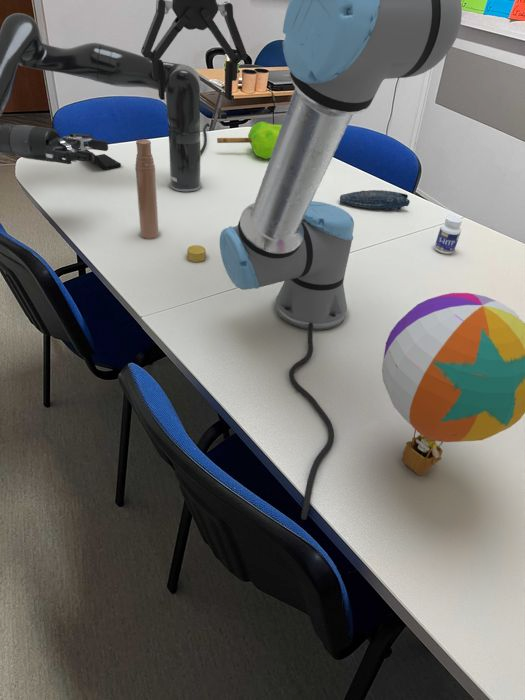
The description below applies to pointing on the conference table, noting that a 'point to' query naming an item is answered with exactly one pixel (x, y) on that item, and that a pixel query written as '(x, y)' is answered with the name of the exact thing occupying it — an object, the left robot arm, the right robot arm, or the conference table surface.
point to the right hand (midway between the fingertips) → (195, 98)
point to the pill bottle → (448, 235)
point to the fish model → (376, 199)
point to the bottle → (146, 190)
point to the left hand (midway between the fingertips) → (100, 151)
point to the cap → (196, 253)
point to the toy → (455, 372)
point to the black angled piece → (105, 161)
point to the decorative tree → (259, 139)
